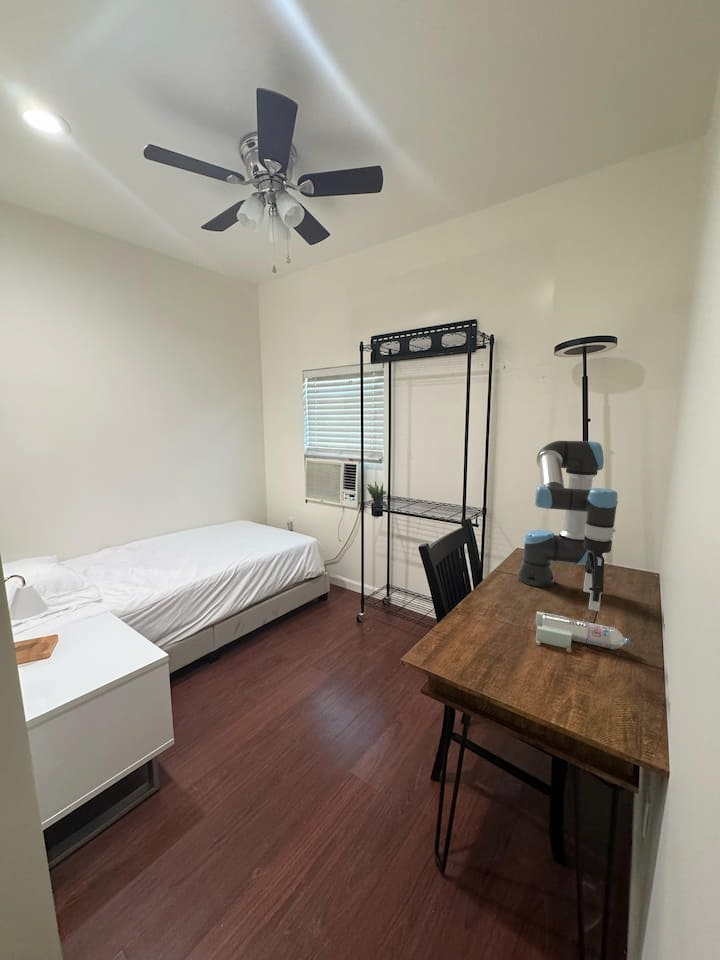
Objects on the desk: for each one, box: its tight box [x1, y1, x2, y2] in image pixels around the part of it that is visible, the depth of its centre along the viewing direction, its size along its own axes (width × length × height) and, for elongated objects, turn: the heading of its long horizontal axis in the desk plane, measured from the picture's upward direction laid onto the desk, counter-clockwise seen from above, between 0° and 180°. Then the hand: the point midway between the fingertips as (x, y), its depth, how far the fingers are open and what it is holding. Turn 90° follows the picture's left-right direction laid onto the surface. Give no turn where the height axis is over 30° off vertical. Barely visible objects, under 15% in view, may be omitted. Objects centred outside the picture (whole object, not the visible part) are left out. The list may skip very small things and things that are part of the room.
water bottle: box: [542, 613, 631, 651], centre depth 126 cm, size 7×7×25 cm
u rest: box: [535, 611, 572, 653], centre depth 129 cm, size 10×18×4 cm, turn 156°
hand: (590, 600), depth 124 cm, fingers open, 13 cm apart
